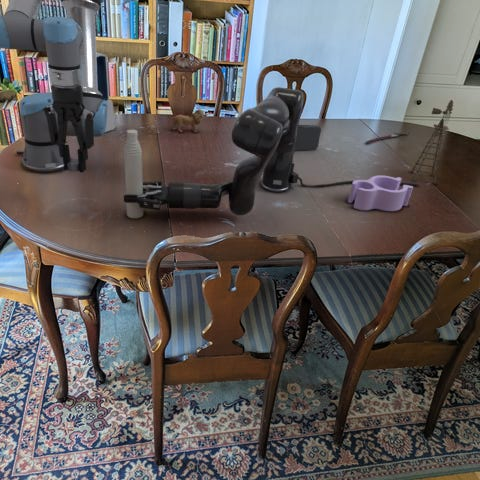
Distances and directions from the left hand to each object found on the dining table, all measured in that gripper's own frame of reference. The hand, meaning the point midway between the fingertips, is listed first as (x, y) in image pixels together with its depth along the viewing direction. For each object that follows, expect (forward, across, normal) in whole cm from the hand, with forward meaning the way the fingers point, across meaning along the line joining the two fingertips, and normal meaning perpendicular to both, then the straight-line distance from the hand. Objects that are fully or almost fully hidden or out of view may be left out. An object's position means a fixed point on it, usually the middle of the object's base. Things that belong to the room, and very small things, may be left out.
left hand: (75, 169), depth 131 cm
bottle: (+12, +17, +1) cm, 21 cm away
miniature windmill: (+12, +110, +61) cm, 126 cm away
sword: (+11, +101, +100) cm, 143 cm away
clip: (+12, +90, +33) cm, 97 cm away
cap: (-2, 0, 0) cm, 2 cm away
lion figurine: (+11, +14, +74) cm, 76 cm away
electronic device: (+11, -20, +60) cm, 64 cm away
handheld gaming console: (+12, +58, +70) cm, 92 cm away
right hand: (+6, +14, 0) cm, 15 cm away
